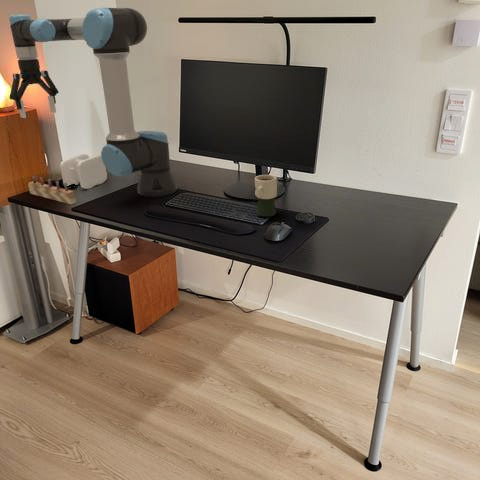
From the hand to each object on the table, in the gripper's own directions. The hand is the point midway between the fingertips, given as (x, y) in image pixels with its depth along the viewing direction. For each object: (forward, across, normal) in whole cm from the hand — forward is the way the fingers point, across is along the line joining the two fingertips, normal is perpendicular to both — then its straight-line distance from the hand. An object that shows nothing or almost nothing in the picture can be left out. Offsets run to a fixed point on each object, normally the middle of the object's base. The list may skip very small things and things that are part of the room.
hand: (38, 115), depth 197 cm
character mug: (+28, -13, +100) cm, 105 cm away
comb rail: (+28, +13, +19) cm, 36 cm away
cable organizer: (+28, -4, +17) cm, 33 cm away
